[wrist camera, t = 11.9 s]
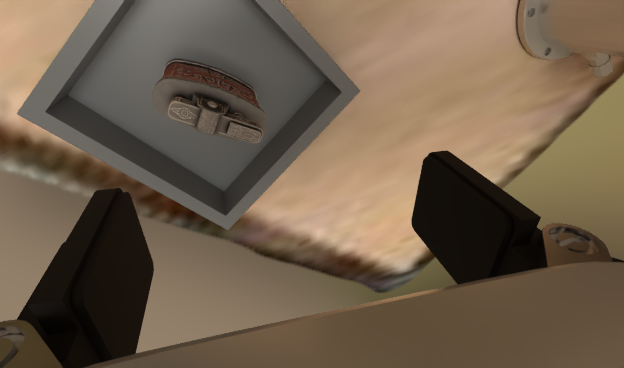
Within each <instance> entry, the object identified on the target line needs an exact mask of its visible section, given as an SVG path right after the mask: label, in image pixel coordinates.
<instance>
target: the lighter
mask: <svg viewBox="0 0 624 368" xmlns="http://www.w3.org/2000/svg"><path fill="white" fill-rule="evenodd" d="M152 103H153V106H154V107H155V109H156V110H157V112H159V113H160V114H162V115H163V116H165V117H167V118H169V119H171V120H173V121H175V122H178V123H180V124H182V125H184V126H186V127H189V128H192V129H194V130H197V131H199V132H201V133H204V134H208V135H213V136H218V137H222V138H226V139H232V140H241V141H247V142H251V143H259V142H260V140H261V139H262V136H263V135H264V134H265V132H266V131H267V127H268V119H267V116H266V114H265V112H264V110H262V109H261V108H260V107H259V104H258V102H257V95H256V92H255V90H254V88H253V87H252V86H251V85H249V84H248V83H246V82H244V81H243V80H241V79H239V78H238V77H236V76H234V75H232V74H230V73H228V72H226V71H223V70H221V69H219V68H217V67H213V66H210V65H207V64H204V63H200V62H196V61H191V60H186V59H180V58H174V59H172V60H170V61H169V62H168V63H167V64H166V66H165V68H164V70H163V77H162V79H160V80H159V81H158V82H157V83H156V85H155V87H154V89H153V91H152Z"/></svg>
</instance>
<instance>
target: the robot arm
mask: <svg viewBox="0 0 624 368" xmlns="http://www.w3.org/2000/svg"><path fill="white" fill-rule="evenodd" d="M517 24H518V33H519V37H520V40H521V43H522V45H523V46H524V48H525V49H526V51H528V52H529V53H530V54H531V55H532V56H535V57H537V58H540V59H545V60H559V59H563V58H566V57H568V56H571V55H573V54H575V53H577V54H582V57H583V59H586V60H588V61H589V64H588V65H589V68H590V71H591V74H592V76H593V77H596V78H601V77H605V76H607V75H609V74H610V73H612V71H613V65H612V62H611V58H610V55H614V56H620V57H624V0H520V5H519V10H518V23H517ZM540 218H541V217H540V216H538V215H537V214H535V213H534V212H533V211H531V210H530V209H529V208H527V207H526V206H524V205H523V204H521V203H520V202H519V201H517V200H516V199H514V198H513V197H512V196H510V195H509V194H508V193H506V192H505V191H503V190H502V189H501V188H499V187H498V186H496V185H495V184H494V183H492V182H491V181H489V180H488V179H487V178H485V177H484V176H483V175H481V174H480V173H478V172H477V171H476V170H474V169H473V168H471V167H470V166H469V165H467V164H466V163H464V162H463V161H462V160H460V159H459V158H457V157H456V156H455V155H453V154H452V153H450V152H449V151H439V152H431V153H429V155H428V156H427V157H426V158H425V159H424V160H423V164H422V170H421V175H420V180H419V185H418V190H417V195H416V200H415V205H414V210H413V216H412V227H413V229H414V231H415V232H416V233H417V234H418V236H419V237H420V238H421V239H422V241H423V242H424V243H425V244H426V246H427V247H428V248H429V249H430V251H431V252H432V253H433V254H434V255H435V257H436V258H437V259H438V260H439V262H440V263H441V264H442V265H443V267H444V268H445V269H446V270H447V272H448V273H449V274H450V275H451V276H452V278H453V279H454V280H455V282H456V283H457V284H458V285H453V286H448V287H443V288H438V289H434V290H428V291H424V292H419V293H414V294H409V295H404V296H399V297H395V298H390V299H385V300H380V301H375V302H370V303H365V304H361V305H356V306H351V307H347V308H342V309H337V310H332V311H327V312H323V313H318V314H313V315H309V316H304V317H300V318H294V319H290V320H285V321H280V322H276V323H271V324H266V325H262V326H257V327H253V328H248V329H243V330H239V331H234V332H229V333H225V334H220V335H216V336H211V337H206V338H202V339H197V340H193V341H189V342H184V343H180V344H175V345H171V346H167V347H162V348H158V349H153V350H150V351H145V352H141V353H136V349H137V345H138V339H139V335H140V331H141V326H142V322H143V318H144V313H145V309H146V304H147V300H148V295H149V290H150V286H151V281H152V277H153V271H154V268H153V261H152V258H151V255H150V252H149V249H148V246H147V243H146V240H145V237H144V234H143V231H142V228H141V225H140V222H139V219H138V216H137V213H136V210H135V207H134V204H133V201H132V198H131V196H130V194H129V193H128V192H124V193H123V192H122V190H121V189H120V188H115V189H106V190H98V191H96V192H95V193H94V195H93V196H92V198H91V200H90V201H89V203H88V205H87V206H86V208H85V210H84V212H83V213H82V215H81V217H80V219H79V220H78V222H77V223H76V225H75V227H74V228H73V230H72V232H71V234H70V235H69V237H68V238H67V240H66V242H64V243H63V244H62V245H61V247H60V248H59V250H58V252H57V254H56V255H55V257H54V258H53V260H52V262H51V263H50V265H49V267H48V269H47V270H46V272H45V273H44V275H43V277H42V278H41V280H40V282H39V284H38V285H37V287H36V288H35V290H34V292H33V293H32V295H31V297H30V299H29V300H28V302H27V303H26V305H25V307H24V308H23V310H22V312H21V313H20V315H19V317H18V318H17V320H8V321H3V322H0V368H624V261H622V260H619V259H615V258H612V257H611V256H610V253H609V251H608V248H607V247H606V245H605V244H604V242H603V241H601V240H600V239H599V238H598V237H597V236H595V235H593V234H592V233H590V232H588V231H586V230H584V229H581V228H579V227H576V226H573V225H568V224H562V223H552V224H548V225H546V226H545V227H543V229H542V231H541V230H540V229H538V228H537V225H538V223H539V220H540Z"/></svg>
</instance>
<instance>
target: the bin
mask: <svg viewBox="0 0 624 368" xmlns="http://www.w3.org/2000/svg"><path fill="white" fill-rule="evenodd" d="M174 58H180V59H186V60H191V61H196V62H200V63H204V64H207V65H210V66H213V67H217V68H219V69H221V70H223V71H226V72H228V73H230V74H232V75H234V76H236V77H238V78H239V79H241V80H243V81H244V82H246V83H248V84H249V85H251V86H252V87H253V88H254V90H255V92H256V95H257V102H258V104H259V107H260V108H261V109H262V110H264V112H265V114H266V116H267V119H268V127H267V131H266V132H265V134H264V135H263V136H262V139H261V140H260V142H259V143H251V142H247V141H241V140H232V139H226V138H222V137H218V136H213V135H208V134H204V133H201V132H199V131H197V130H194V129H192V128H189V127H186V126H184V125H182V124H180V123H178V122H175V121H173V120H171V119H169V118H167V117H165V116H163V115H162V114H160V113H159V112H157V110H156V109H155V107H154V106H153V103H152V91H153V89H154V87H155V85H156V83H157V82H158V81H159V80H160V79H162V77H163V70H164V68H165V66H166V64H167V63H168V62H169V61H170V60H172V59H174ZM359 92H360V90H359V89H358V88H357V86H356V85H355V84H354V83H353V82H352V81H351V80H350V79H349V78H348V76H347V75H346V74H345V73H344V72H343V71H342V70H341V69H340V68H339V66H338V65H337V64H336V63H335V62H334V61H333V60H332V59H331V58H330V56H329V55H328V54H327V53H326V52H325V51H324V50H323V49H322V48H321V46H320V45H319V44H318V43H317V42H316V41H315V40H314V39H313V38H312V36H311V35H310V34H309V33H308V32H307V31H306V30H305V29H304V28H303V26H302V25H301V24H300V23H299V22H298V21H297V20H296V19H295V18H294V16H293V15H292V14H291V13H290V12H289V11H288V10H287V9H286V8H285V6H284V5H283V4H282V3H281V2H280V1H279V0H95V1H94V3H93V4H92V6H91V7H90V8H89V10H88V11H87V13H86V14H85V16H84V17H83V19H82V20H81V21H80V23H79V24H78V26H77V27H76V29H75V30H74V32H73V33H72V34H71V36H70V37H69V39H68V40H67V42H66V43H65V45H64V46H63V47H62V49H61V50H60V52H59V53H58V55H57V56H56V58H55V59H54V61H53V62H52V63H51V65H50V66H49V68H48V69H47V71H46V72H45V74H44V75H43V76H42V78H41V79H40V81H39V82H38V84H37V85H36V87H35V88H34V89H33V91H32V92H31V94H30V95H29V97H28V98H27V100H26V101H25V102H24V104H23V105H22V107H21V108H20V110H19V111H18V113H17V114H18V115H20V116H21V117H23V118H25V119H27V120H29V121H30V122H32V123H34V124H36V125H38V126H40V127H41V128H43V129H45V130H47V131H49V132H50V133H52V134H54V135H56V136H58V137H60V138H61V139H63V140H65V141H67V142H69V143H70V144H72V145H74V146H76V147H78V148H80V149H81V150H83V151H85V152H87V153H89V154H90V155H92V156H94V157H96V158H98V159H100V160H101V161H103V162H105V163H107V164H109V165H110V166H112V167H114V168H116V169H118V170H120V171H121V172H123V173H125V174H127V175H129V176H130V177H132V178H134V179H136V180H138V181H140V182H141V183H143V184H145V185H147V186H149V187H150V188H152V189H154V190H156V191H158V192H160V193H161V194H163V195H165V196H167V197H169V198H170V199H172V200H174V201H176V202H178V203H180V204H181V205H183V206H185V207H187V208H189V209H190V210H192V211H194V212H196V213H198V214H200V215H201V216H203V217H205V218H207V219H209V220H210V221H212V222H214V223H216V224H218V225H220V226H221V227H223V228H225V229H227V230H229V229H230V228H231V227H232V225H233V224H234V223H235V222H236V221H237V220H238V219H239V218H240V217H241V216H242V215H243V214H244V213H245V212H246V211H247V210H248V209H249V208H250V207H251V206H252V204H253V203H254V202H255V201H256V200H257V199H258V198H259V197H260V196H261V195H262V194H263V193H264V192H265V191H266V190H267V189H268V188H269V187H270V186H271V185H272V183H273V182H274V181H275V180H276V179H277V178H278V177H279V176H280V175H281V174H282V173H283V172H284V171H285V170H286V169H287V168H288V167H289V166H290V165H291V163H292V162H293V161H294V160H295V159H296V158H297V157H298V156H299V155H300V154H301V153H302V152H303V151H304V150H305V149H306V148H307V147H308V146H309V145H310V144H311V142H312V141H313V140H314V139H315V138H316V137H317V136H318V135H319V134H320V133H321V132H322V131H323V130H324V129H325V128H326V127H327V126H328V125H329V124H330V123H331V121H332V120H333V119H334V118H335V117H336V116H337V115H338V114H339V113H340V112H341V111H342V110H343V109H344V108H345V107H346V106H347V105H348V104H349V103H350V102H351V100H352V99H353V98H354V97H355V96H356V95H357V94H358V93H359Z"/></svg>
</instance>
